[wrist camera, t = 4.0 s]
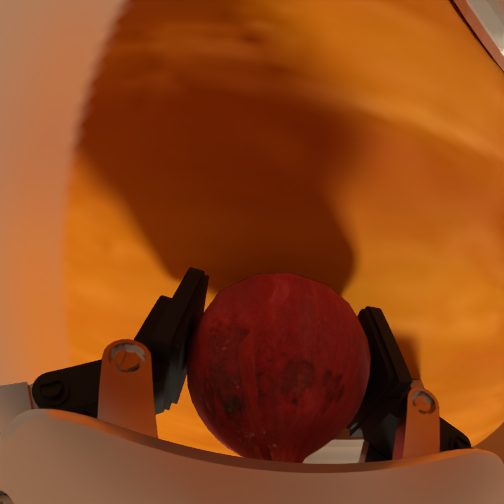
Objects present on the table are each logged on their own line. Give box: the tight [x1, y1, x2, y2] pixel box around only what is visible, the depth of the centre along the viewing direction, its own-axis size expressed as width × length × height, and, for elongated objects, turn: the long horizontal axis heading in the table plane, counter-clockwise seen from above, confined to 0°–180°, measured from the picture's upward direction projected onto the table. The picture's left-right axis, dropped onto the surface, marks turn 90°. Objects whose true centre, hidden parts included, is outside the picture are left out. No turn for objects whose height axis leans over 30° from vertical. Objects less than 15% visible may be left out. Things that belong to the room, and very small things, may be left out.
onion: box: [187, 273, 371, 463], centre depth 8 cm, size 6×6×8 cm
